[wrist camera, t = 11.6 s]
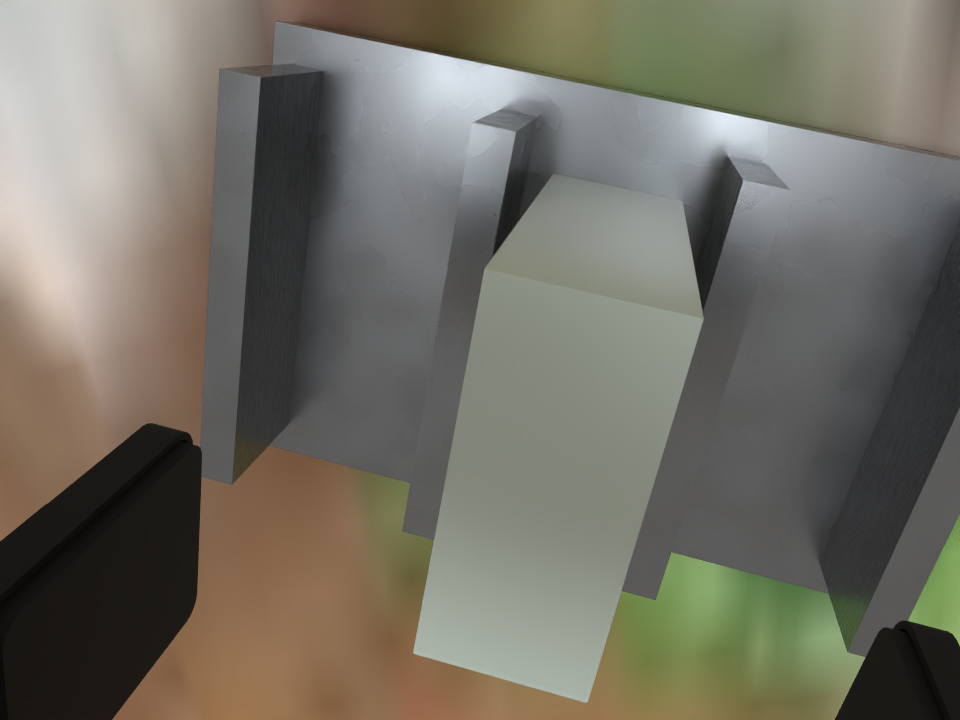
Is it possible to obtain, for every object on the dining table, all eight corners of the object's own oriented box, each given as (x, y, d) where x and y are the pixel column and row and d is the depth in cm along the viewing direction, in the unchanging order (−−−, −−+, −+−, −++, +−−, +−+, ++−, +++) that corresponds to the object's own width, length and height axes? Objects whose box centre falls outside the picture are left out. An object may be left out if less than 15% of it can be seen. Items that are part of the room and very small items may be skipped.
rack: (297, 22, 24) (201, 18, 19) (1022, 170, 21) (1136, 210, 16) (263, 419, 29) (180, 500, 24) (846, 571, 26) (892, 697, 21)
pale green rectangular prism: (553, 173, 22) (484, 268, 13) (682, 200, 22) (703, 318, 13) (499, 431, 25) (412, 653, 16) (611, 459, 25) (587, 703, 16)
